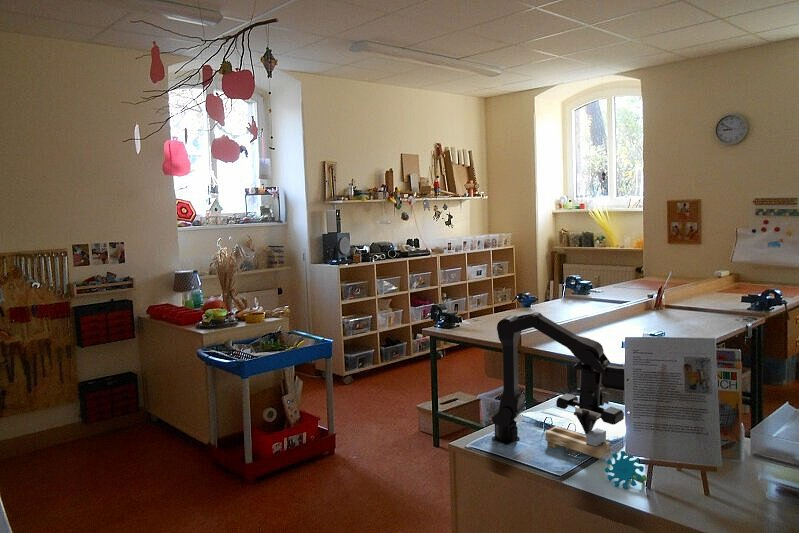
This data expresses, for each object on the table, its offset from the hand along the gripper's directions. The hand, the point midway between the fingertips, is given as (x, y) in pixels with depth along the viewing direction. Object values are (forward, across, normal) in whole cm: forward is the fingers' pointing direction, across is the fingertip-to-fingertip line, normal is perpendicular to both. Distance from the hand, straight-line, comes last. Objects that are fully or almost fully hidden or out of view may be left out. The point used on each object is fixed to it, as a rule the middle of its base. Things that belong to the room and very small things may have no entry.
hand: (588, 435), depth 176 cm
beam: (+6, +3, 0) cm, 7 cm away
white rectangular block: (+3, -3, 0) cm, 4 cm away
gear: (+6, -16, +8) cm, 18 cm away
